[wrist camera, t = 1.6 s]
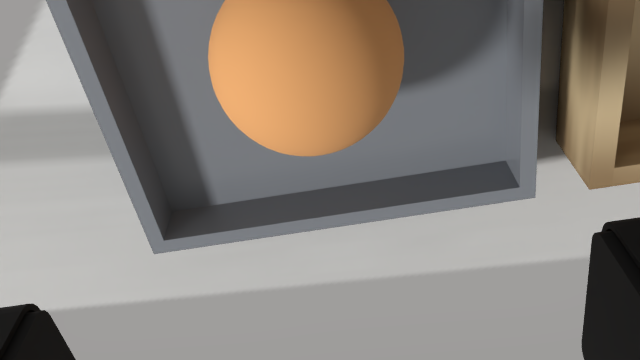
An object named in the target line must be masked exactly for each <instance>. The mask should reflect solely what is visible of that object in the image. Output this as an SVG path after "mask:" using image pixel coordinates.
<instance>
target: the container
mask: <svg viewBox="0 0 640 360" xmlns="http://www.w3.org/2000/svg"><path fill="white" fill-rule="evenodd" d="M46 1H47V4H48V6H49V9H50V11H51V13H52V16H53V18H54V20H55V23H56V25H57V27H58V30H59V32H60V34H61V37H62V39H63V41H64V44H65V46H66V48H67V51H68V53H69V56H70V58H71V60H72V63H73V65H74V67H75V70H76V72H77V74H78V77H79V79H80V81H81V84H82V86H83V88H84V91H85V93H86V95H87V98H88V100H89V103H90V105H91V107H92V110H93V112H94V114H95V117H96V119H97V121H98V124H99V126H100V128H101V131H102V133H103V135H104V138H105V140H106V142H107V145H108V147H109V150H110V152H111V154H112V157H113V159H114V161H115V164H116V166H117V168H118V171H119V173H120V175H121V178H122V180H123V182H124V185H125V187H126V189H127V192H128V194H129V197H130V199H131V201H132V204H133V206H134V208H135V211H136V213H137V215H138V218H139V220H140V222H141V225H142V227H143V229H144V232H145V234H146V236H147V239H148V241H149V244H150V246H151V248H152V251H153V253H154V254H158V253H165V252H171V251H178V250H185V249H192V248H198V247H205V246H212V245H219V244H225V243H232V242H239V241H246V240H252V239H259V238H266V237H273V236H280V235H286V234H293V233H300V232H307V231H313V230H320V229H327V228H334V227H340V226H347V225H354V224H361V223H367V222H374V221H381V220H388V219H394V218H401V217H408V216H415V215H421V214H428V213H435V212H442V211H448V210H455V209H462V208H469V207H475V206H482V205H489V204H496V203H502V202H509V201H516V200H523V199H529V198H535V192H536V167H537V143H538V118H539V94H540V70H541V45H542V21H543V0H387V1H388V3H389V4H390V6H391V8H392V10H393V12H394V14H395V16H396V18H397V20H398V23H399V27H400V30H401V34H402V40H403V46H404V67H403V75H402V80H401V84H400V88H399V91H398V93H397V95H396V98H395V100H394V102H393V104H392V106H391V108H390V109H389V111H388V113H387V114H386V116H385V117H384V118H383V120H382V121H381V122H380V123H379V124H378V125H377V126H376V127H375V128H374V129H373V130H372V131H371V132H370V133H369V134H368V135H366V136H365V137H364V138H363V139H361V140H360V141H358V142H356V143H355V144H353V145H351V146H349V147H347V148H345V149H343V150H340V151H337V152H334V153H330V154H326V155H320V156H294V155H287V154H283V153H279V152H276V151H273V150H271V149H268V148H266V147H264V146H262V145H260V144H258V143H257V142H255V141H254V140H252V139H251V138H249V137H248V136H247V135H245V134H244V133H243V132H242V131H241V130H240V129H238V128H237V126H236V125H235V124H234V123H233V122H232V121H231V120H230V118H229V117H228V116H227V114H226V113H225V111H224V110H223V108H222V106H221V104H220V102H219V101H218V99H217V97H216V94H215V91H214V89H213V86H212V81H211V77H210V72H209V63H208V49H209V40H210V35H211V30H212V26H213V24H214V21H215V18H216V16H217V14H218V12H219V10H220V8H221V6H222V4H223V3H224V1H225V0H46Z"/></svg>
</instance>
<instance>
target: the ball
mask: <svg viewBox="0 0 640 360" xmlns="http://www.w3.org/2000/svg"><path fill="white" fill-rule="evenodd" d="M208 63H209V72H210V77H211V81H212V86H213V89H214V91H215V94H216V97H217V99H218V101H219V102H220V104H221V106H222V108H223V110H224V111H225V113H226V114H227V116H228V117H229V118H230V120H231V121H232V122H233V123H234V124H235V125H236V126H237V128H238V129H240V130H241V131H242V132H243V133H244V134H245V135H247V136H248V137H249V138H251V139H252V140H254V141H255V142H257V143H258V144H260V145H262V146H264V147H266V148H268V149H271V150H273V151H276V152H279V153H283V154H287V155H294V156H320V155H326V154H330V153H334V152H337V151H340V150H343V149H345V148H347V147H349V146H351V145H353V144H355V143H356V142H358V141H360V140H361V139H363V138H364V137H365V136H366V135H368V134H369V133H370V132H371V131H372V130H373V129H374V128H375V127H376V126H377V125H378V124H379V123H380V122H381V121H382V120H383V118H384V117H385V116H386V114H387V113H388V111H389V109H390V108H391V106H392V104H393V102H394V100H395V98H396V95H397V93H398V91H399V88H400V84H401V80H402V75H403V67H404V46H403V40H402V34H401V30H400V27H399V23H398V20H397V18H396V16H395V14H394V12H393V10H392V8H391V6H390V4H389V3H388V1H387V0H225V1H224V3H223V4H222V6H221V8H220V10H219V12H218V14H217V16H216V18H215V21H214V24H213V26H212V30H211V35H210V40H209V49H208Z"/></svg>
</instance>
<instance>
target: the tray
mask: <svg viewBox="0 0 640 360" xmlns="http://www.w3.org/2000/svg"><path fill="white" fill-rule="evenodd" d="M556 142H557V143H558V144H559V146H560V147H561V149H562V150H563V152H564V153H565V155H566V156H567V158H568V159H569V161H570V162H571V163H572V165H573V166H574V168H575V169H576V171H577V172H578V174H579V175H580V177H581V178H582V180H583V181H584V182H585V184H586V185H587V187H588V188H589V190H590V189H597V188H604V187H610V186H617V185H624V184H631V183H637V182H640V0H564V14H563V30H562V47H561V63H560V80H559V96H558V113H557V129H556Z"/></svg>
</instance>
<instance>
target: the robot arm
mask: <svg viewBox="0 0 640 360" xmlns="http://www.w3.org/2000/svg"><path fill="white" fill-rule="evenodd" d="M582 352H583V357H584V360H640V218H633V219H626V220H619V221H612V222H607V223H605V224H604V226H603V229H602V232H598V233H594V235H593V237H592V244H591V254H590V264H589V275H588V285H587V295H586V305H585V315H584V325H583V335H582ZM0 360H75V358H74V356H73V354H72V353H71V351H70V349H69V347H68V346H67V344H66V342H65V340H64V339H63V337H62V335H61V333H60V332H59V330H58V328H57V326H56V325H55V323H54V321H53V319H52V318H51V316H50V315H49V313H48V312H46V311H45V310H43V311H41V310H40V309H39V308H38V306H36V305H34V304H25V305H18V306H10V307H3V308H0Z"/></svg>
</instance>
